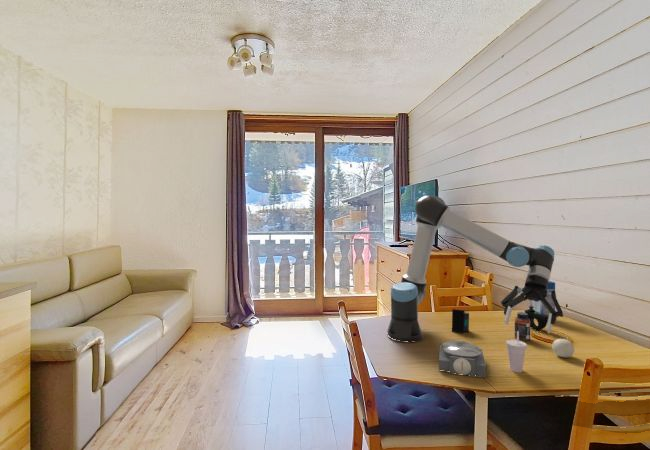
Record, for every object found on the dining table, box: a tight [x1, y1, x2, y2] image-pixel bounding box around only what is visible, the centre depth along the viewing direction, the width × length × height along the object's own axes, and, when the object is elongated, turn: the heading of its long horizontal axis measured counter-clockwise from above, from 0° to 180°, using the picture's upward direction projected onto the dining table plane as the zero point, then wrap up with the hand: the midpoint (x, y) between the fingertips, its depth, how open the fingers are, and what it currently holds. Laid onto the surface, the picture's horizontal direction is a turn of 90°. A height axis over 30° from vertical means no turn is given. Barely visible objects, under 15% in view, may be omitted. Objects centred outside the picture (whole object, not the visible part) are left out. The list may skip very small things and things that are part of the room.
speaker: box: [451, 308, 470, 334], centre depth 156 cm, size 8×6×10 cm
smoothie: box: [505, 331, 528, 373], centre depth 117 cm, size 6×6×14 cm
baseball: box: [551, 338, 575, 359], centre depth 127 cm, size 7×7×7 cm
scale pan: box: [442, 340, 482, 358], centre depth 121 cm, size 13×13×1 cm
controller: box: [524, 305, 549, 330], centre depth 156 cm, size 4×12×10 cm, turn 18°
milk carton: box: [529, 280, 556, 316], centre depth 170 cm, size 10×6×20 cm, turn 179°
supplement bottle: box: [514, 311, 531, 342], centre depth 145 cm, size 6×6×11 cm
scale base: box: [438, 343, 487, 378], centre depth 121 cm, size 15×16×6 cm
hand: (526, 326), depth 122 cm, fingers open, 13 cm apart
